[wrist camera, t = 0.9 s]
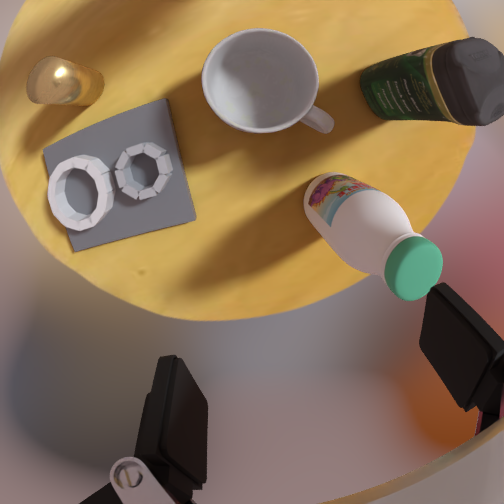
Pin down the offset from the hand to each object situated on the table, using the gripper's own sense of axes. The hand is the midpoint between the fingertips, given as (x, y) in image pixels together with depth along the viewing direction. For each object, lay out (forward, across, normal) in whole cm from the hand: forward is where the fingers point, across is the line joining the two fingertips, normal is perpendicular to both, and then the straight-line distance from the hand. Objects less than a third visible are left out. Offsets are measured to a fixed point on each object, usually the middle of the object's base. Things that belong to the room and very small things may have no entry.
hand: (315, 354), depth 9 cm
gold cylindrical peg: (+27, +17, -19) cm, 37 cm away
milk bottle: (+27, -9, +4) cm, 29 cm away
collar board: (+27, +16, -6) cm, 32 cm away
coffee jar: (+27, -21, -10) cm, 36 cm away
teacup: (+27, -4, -11) cm, 30 cm away
